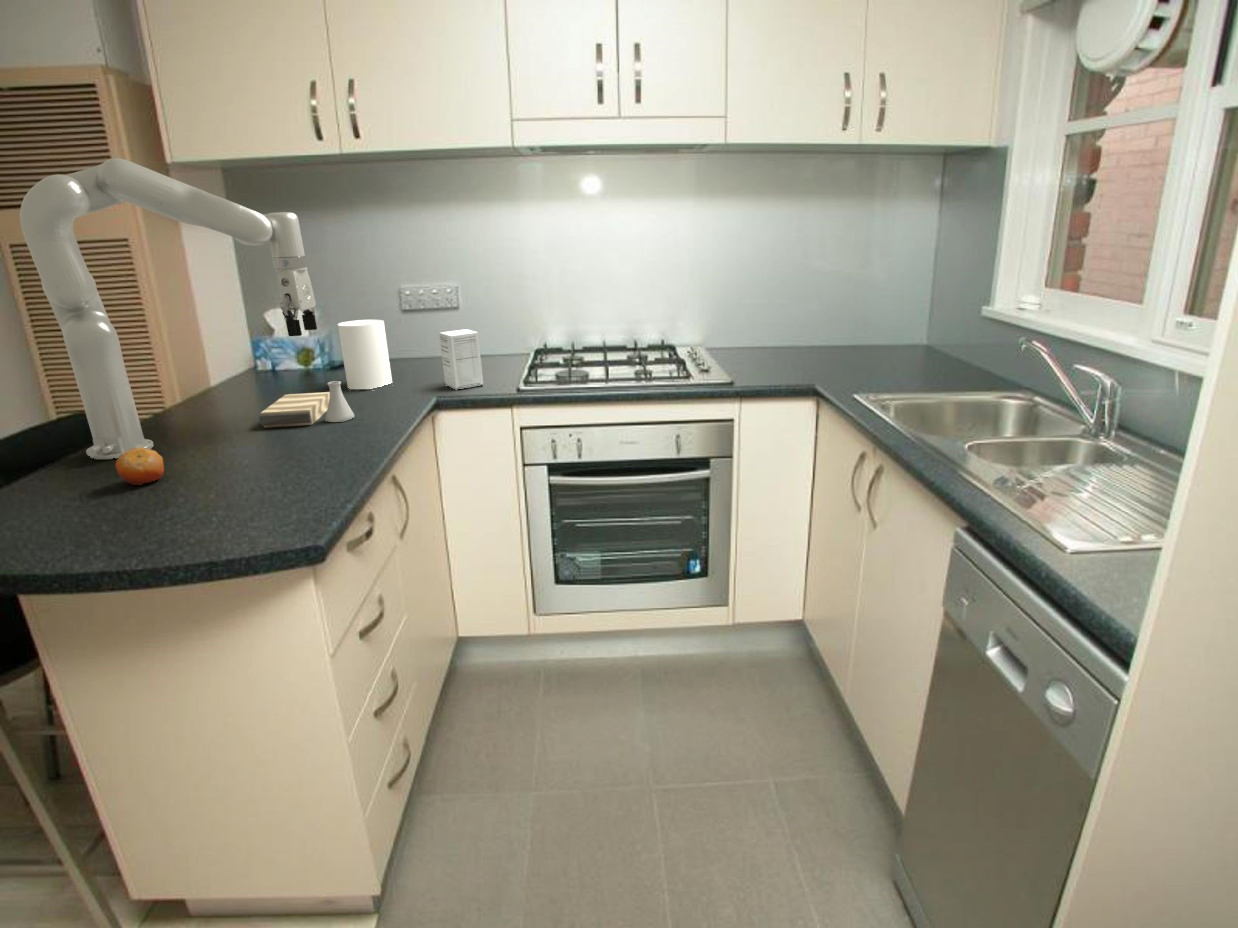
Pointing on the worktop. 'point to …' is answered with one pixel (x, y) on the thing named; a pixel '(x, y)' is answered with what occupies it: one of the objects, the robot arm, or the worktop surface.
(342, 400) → the flask
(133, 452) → the fruit
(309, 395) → the zigzag patterned box
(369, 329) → the canister
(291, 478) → the worktop surface
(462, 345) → the supplement box
